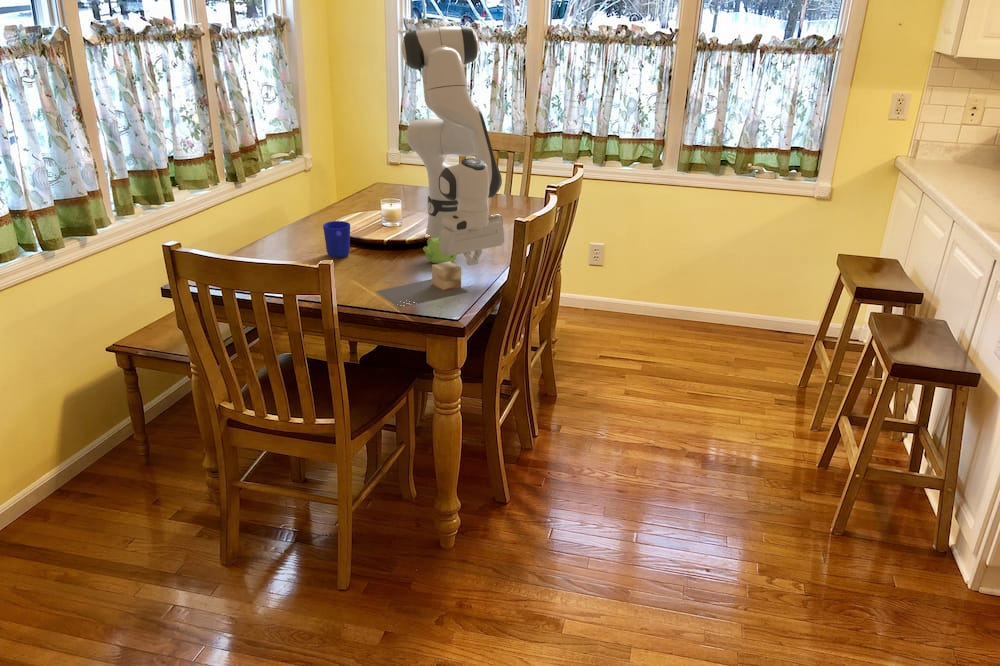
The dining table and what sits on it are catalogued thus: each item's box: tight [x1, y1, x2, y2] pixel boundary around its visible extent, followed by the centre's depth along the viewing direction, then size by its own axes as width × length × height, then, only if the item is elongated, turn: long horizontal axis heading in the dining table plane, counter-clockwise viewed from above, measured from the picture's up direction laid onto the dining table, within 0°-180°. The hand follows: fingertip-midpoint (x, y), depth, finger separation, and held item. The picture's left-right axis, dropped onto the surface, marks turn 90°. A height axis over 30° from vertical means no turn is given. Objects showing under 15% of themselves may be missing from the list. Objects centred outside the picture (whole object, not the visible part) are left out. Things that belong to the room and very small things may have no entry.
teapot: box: [422, 236, 458, 264], centre depth 246 cm, size 11×12×8 cm
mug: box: [322, 220, 351, 259], centre depth 247 cm, size 8×12×10 cm
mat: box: [375, 278, 469, 309], centre depth 224 cm, size 22×14×1 cm, turn 125°
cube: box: [431, 261, 462, 291], centre depth 227 cm, size 6×6×6 cm
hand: (472, 264), depth 231 cm, fingers closed
